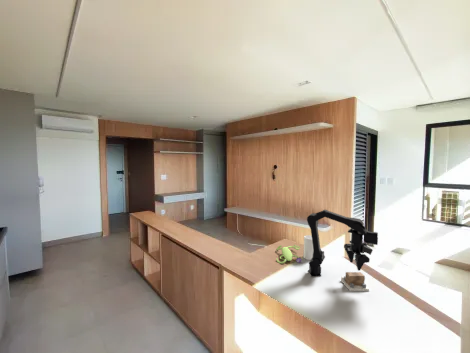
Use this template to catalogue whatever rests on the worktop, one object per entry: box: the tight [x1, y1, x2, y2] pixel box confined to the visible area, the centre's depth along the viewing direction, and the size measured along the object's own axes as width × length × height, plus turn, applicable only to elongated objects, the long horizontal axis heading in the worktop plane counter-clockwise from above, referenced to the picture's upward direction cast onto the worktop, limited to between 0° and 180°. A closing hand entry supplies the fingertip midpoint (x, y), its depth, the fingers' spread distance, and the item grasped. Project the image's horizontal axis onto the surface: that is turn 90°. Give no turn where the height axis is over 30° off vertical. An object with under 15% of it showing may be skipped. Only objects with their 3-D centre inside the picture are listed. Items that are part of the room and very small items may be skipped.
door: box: [345, 271, 366, 286], centre depth 128 cm, size 10×4×6 cm, turn 90°
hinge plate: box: [340, 275, 370, 292], centre depth 128 cm, size 11×10×3 cm
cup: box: [302, 234, 314, 261], centre depth 162 cm, size 8×8×16 cm
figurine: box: [276, 244, 302, 264], centre depth 165 cm, size 18×27×6 cm
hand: (355, 266), depth 127 cm, fingers open, 9 cm apart
